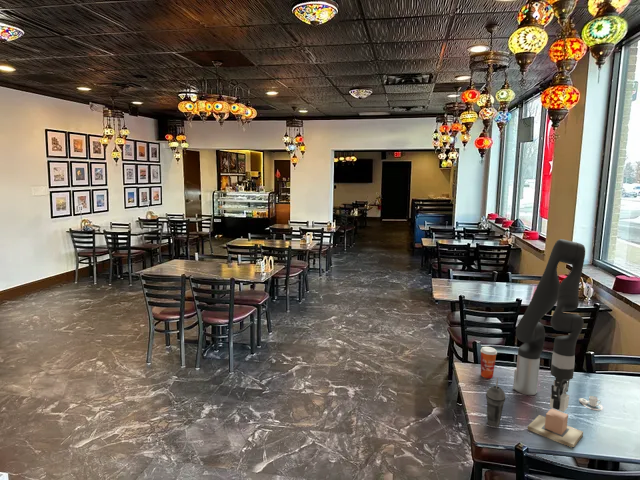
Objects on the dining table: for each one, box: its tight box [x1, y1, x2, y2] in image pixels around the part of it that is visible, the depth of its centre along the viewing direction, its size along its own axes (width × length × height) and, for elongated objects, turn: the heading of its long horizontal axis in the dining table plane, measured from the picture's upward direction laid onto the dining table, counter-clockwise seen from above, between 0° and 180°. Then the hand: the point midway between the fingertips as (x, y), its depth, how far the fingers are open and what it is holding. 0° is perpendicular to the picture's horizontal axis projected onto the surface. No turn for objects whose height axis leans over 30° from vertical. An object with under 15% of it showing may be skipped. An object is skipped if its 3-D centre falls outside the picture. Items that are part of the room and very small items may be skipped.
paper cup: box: [479, 346, 498, 379], centre depth 213 cm, size 8×8×14 cm
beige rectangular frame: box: [527, 414, 584, 448], centre depth 166 cm, size 16×12×2 cm
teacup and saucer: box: [578, 395, 604, 411], centre depth 187 cm, size 9×8×4 cm
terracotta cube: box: [545, 407, 569, 435], centre depth 166 cm, size 6×6×6 cm
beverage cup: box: [485, 377, 507, 428], centre depth 170 cm, size 7×7×20 cm
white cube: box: [549, 393, 570, 413], centre depth 164 cm, size 5×5×5 cm
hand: (558, 405), depth 165 cm, fingers closed on white cube, 5 cm apart
